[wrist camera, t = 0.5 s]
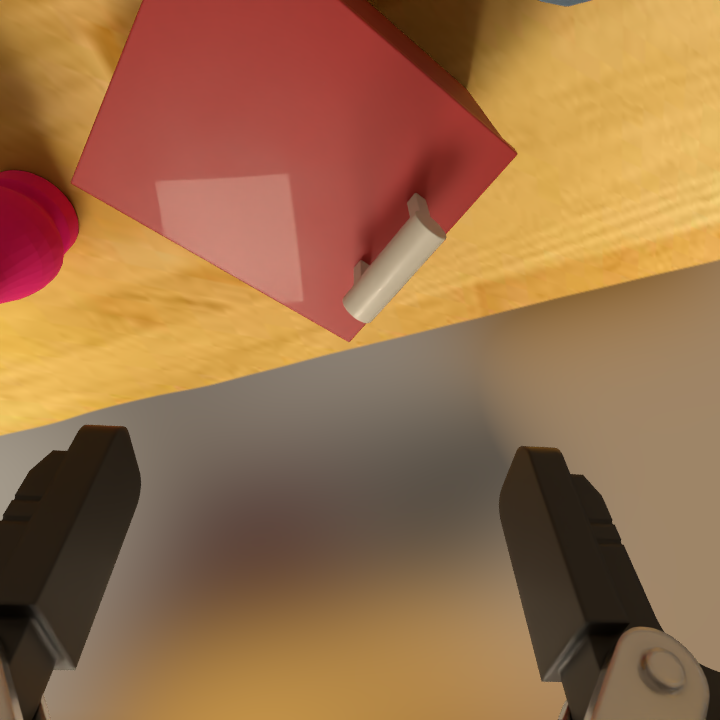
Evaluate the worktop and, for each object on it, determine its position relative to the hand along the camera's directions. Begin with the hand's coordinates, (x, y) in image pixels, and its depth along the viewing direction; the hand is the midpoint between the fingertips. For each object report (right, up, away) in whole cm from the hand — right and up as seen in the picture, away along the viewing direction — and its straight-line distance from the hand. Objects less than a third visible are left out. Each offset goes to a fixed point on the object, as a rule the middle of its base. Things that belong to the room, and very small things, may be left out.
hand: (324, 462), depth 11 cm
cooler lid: (-3, +12, +15) cm, 19 cm away
